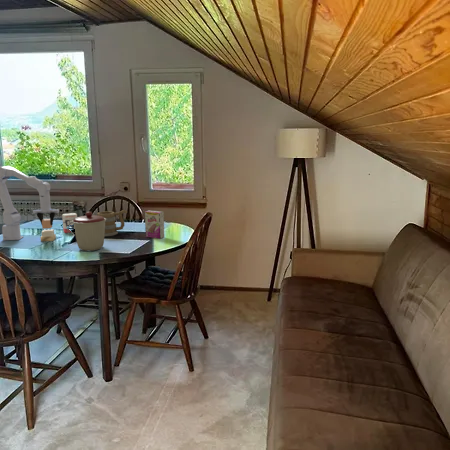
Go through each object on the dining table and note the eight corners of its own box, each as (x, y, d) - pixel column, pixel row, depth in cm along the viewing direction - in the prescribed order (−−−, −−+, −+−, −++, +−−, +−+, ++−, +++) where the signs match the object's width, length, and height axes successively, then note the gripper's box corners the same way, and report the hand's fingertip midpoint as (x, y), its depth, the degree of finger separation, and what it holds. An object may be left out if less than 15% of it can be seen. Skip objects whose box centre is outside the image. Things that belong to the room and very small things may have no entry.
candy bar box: (145, 237, 262) (144, 211, 259) (149, 235, 267) (148, 210, 264) (160, 239, 258) (159, 212, 254) (164, 237, 262) (164, 211, 259)
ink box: (65, 233, 274) (63, 215, 272) (63, 231, 278) (61, 214, 276) (78, 231, 279) (77, 213, 276) (76, 230, 283) (75, 212, 280)
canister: (108, 251, 230) (106, 213, 226) (73, 254, 225) (70, 215, 221) (107, 243, 247) (105, 208, 243) (74, 246, 242) (72, 209, 238)
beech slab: (40, 241, 253) (40, 237, 252) (44, 239, 260) (43, 234, 259) (53, 241, 254) (52, 236, 253) (55, 238, 261) (55, 234, 260)
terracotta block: (42, 228, 253) (41, 220, 252) (44, 227, 257) (43, 219, 256) (50, 228, 253) (49, 220, 252) (52, 226, 258) (51, 218, 257)
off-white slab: (42, 236, 253) (41, 232, 252) (43, 234, 258) (43, 229, 258) (52, 236, 254) (52, 231, 253) (54, 234, 260) (53, 229, 259)
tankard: (98, 237, 263) (96, 213, 260) (95, 232, 275) (94, 210, 272) (130, 234, 271) (129, 211, 268) (126, 230, 283) (125, 208, 280)
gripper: (30, 204, 247) (32, 226, 250) (56, 203, 249) (58, 225, 252) (33, 202, 254) (35, 224, 257) (59, 201, 256) (60, 223, 259)
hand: (47, 225), depth 255 cm, fingers closed on terracotta block, 4 cm apart
